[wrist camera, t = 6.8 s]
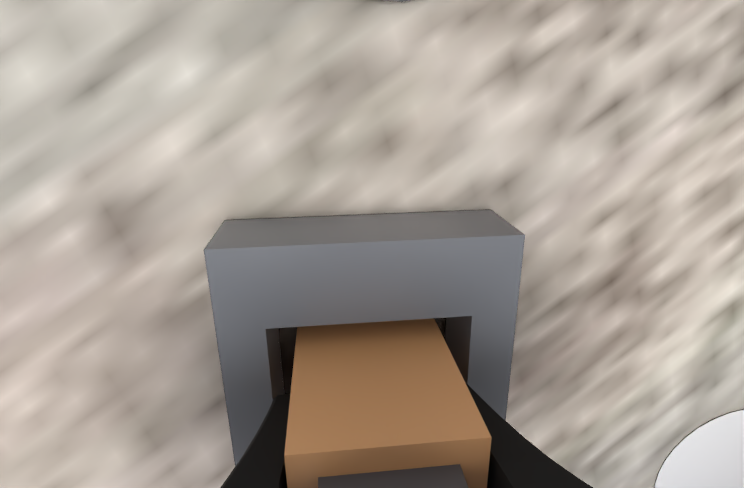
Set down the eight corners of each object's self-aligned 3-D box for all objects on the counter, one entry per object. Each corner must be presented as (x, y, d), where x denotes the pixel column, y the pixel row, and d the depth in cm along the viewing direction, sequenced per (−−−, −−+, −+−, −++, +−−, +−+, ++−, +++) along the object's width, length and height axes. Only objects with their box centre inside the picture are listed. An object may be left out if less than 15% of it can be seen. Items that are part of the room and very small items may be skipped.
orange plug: (428, 424, 15) (487, 608, 10) (305, 434, 14) (296, 632, 9) (432, 315, 14) (503, 461, 8) (297, 323, 13) (281, 482, 8)
